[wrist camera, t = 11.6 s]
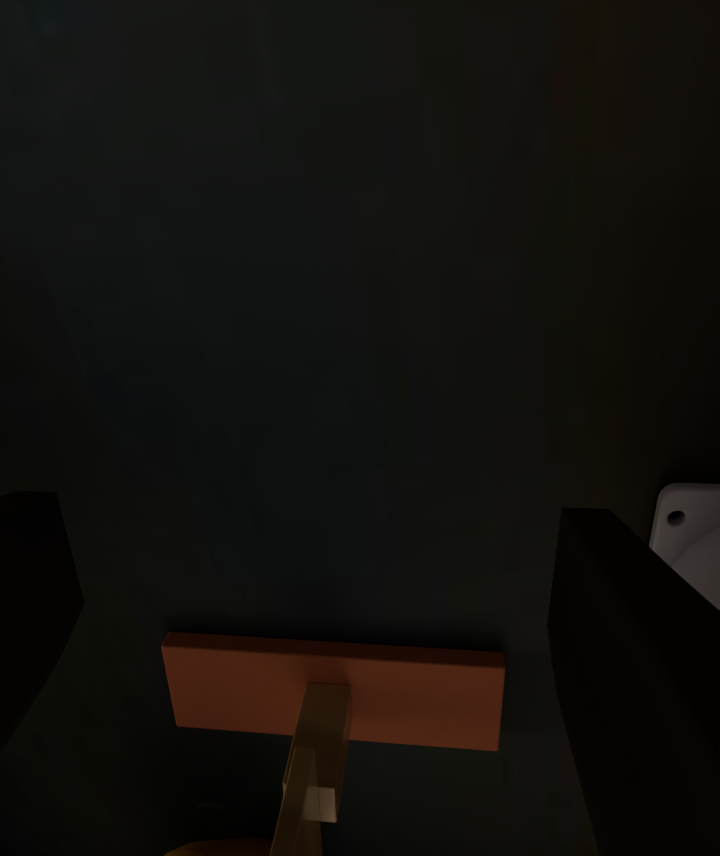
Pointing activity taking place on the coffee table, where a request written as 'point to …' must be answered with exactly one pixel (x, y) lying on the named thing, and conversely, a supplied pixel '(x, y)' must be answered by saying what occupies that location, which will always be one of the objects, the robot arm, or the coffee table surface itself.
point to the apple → (226, 847)
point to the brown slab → (314, 770)
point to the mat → (341, 665)
